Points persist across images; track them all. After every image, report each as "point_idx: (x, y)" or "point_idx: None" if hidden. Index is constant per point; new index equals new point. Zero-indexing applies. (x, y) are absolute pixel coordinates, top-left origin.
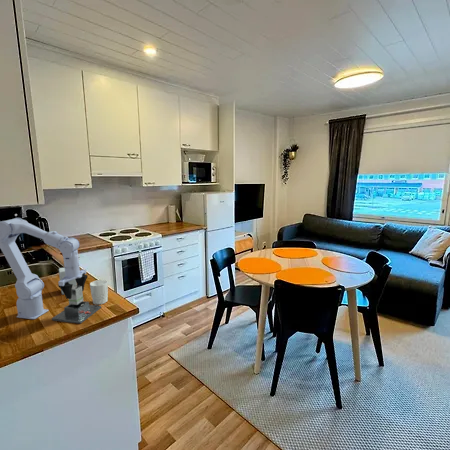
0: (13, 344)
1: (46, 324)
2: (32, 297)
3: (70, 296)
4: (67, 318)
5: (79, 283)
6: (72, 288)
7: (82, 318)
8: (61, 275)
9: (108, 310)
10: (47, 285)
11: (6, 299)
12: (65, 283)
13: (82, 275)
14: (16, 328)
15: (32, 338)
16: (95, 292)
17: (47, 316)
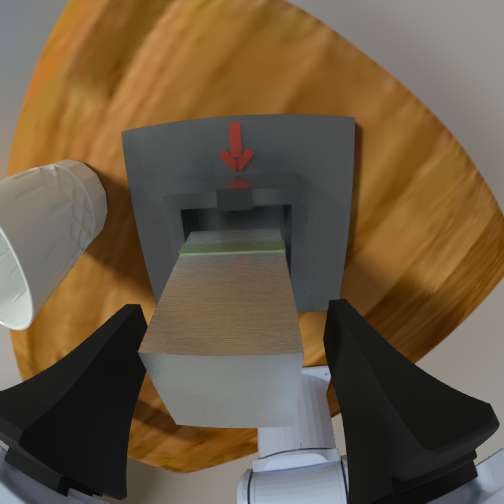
0: (477, 290)
1: (370, 297)
2: (330, 455)
3: (357, 313)
4: (332, 229)
5: (115, 403)
6: (267, 401)
7: (317, 128)
8: None
9: (146, 55)
10: None
11: (226, 460)
12: (452, 490)
13: (36, 469)
14: None
15: (461, 262)
16: (56, 225)
17: None
